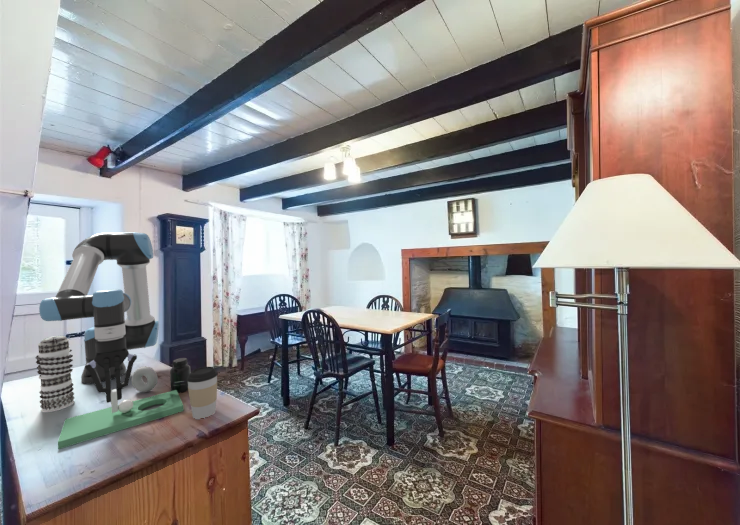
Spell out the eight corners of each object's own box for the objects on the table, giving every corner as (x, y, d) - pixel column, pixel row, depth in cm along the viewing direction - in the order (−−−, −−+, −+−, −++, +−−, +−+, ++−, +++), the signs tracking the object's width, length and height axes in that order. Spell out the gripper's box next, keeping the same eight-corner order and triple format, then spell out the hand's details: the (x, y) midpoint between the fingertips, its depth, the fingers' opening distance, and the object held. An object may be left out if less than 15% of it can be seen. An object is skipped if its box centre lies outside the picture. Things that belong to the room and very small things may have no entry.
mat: (66, 425, 97) (65, 419, 97) (176, 394, 116) (176, 389, 116) (58, 449, 85) (57, 442, 84) (183, 410, 104) (183, 405, 103)
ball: (136, 400, 103) (127, 412, 102) (124, 395, 101) (114, 407, 100) (136, 404, 100) (127, 416, 99) (124, 399, 98) (114, 412, 97)
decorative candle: (39, 407, 110) (34, 338, 109) (74, 397, 116) (70, 332, 116) (38, 416, 103) (33, 342, 102) (76, 405, 110) (72, 336, 109)
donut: (160, 390, 121) (159, 365, 120) (153, 394, 117) (152, 368, 117) (137, 389, 122) (136, 365, 121) (129, 393, 118) (128, 368, 118)
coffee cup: (187, 424, 95) (185, 376, 95) (189, 411, 103) (187, 367, 103) (219, 416, 99) (217, 370, 99) (219, 404, 107) (217, 362, 107)
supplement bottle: (176, 395, 116) (174, 364, 115) (167, 391, 119) (165, 361, 119) (194, 388, 121) (193, 358, 121) (185, 384, 125) (184, 355, 125)
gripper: (81, 344, 91) (86, 422, 91) (136, 336, 99) (140, 408, 99) (84, 339, 96) (88, 413, 97) (136, 332, 105) (139, 399, 105)
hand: (114, 410), depth 98 cm, fingers closed
